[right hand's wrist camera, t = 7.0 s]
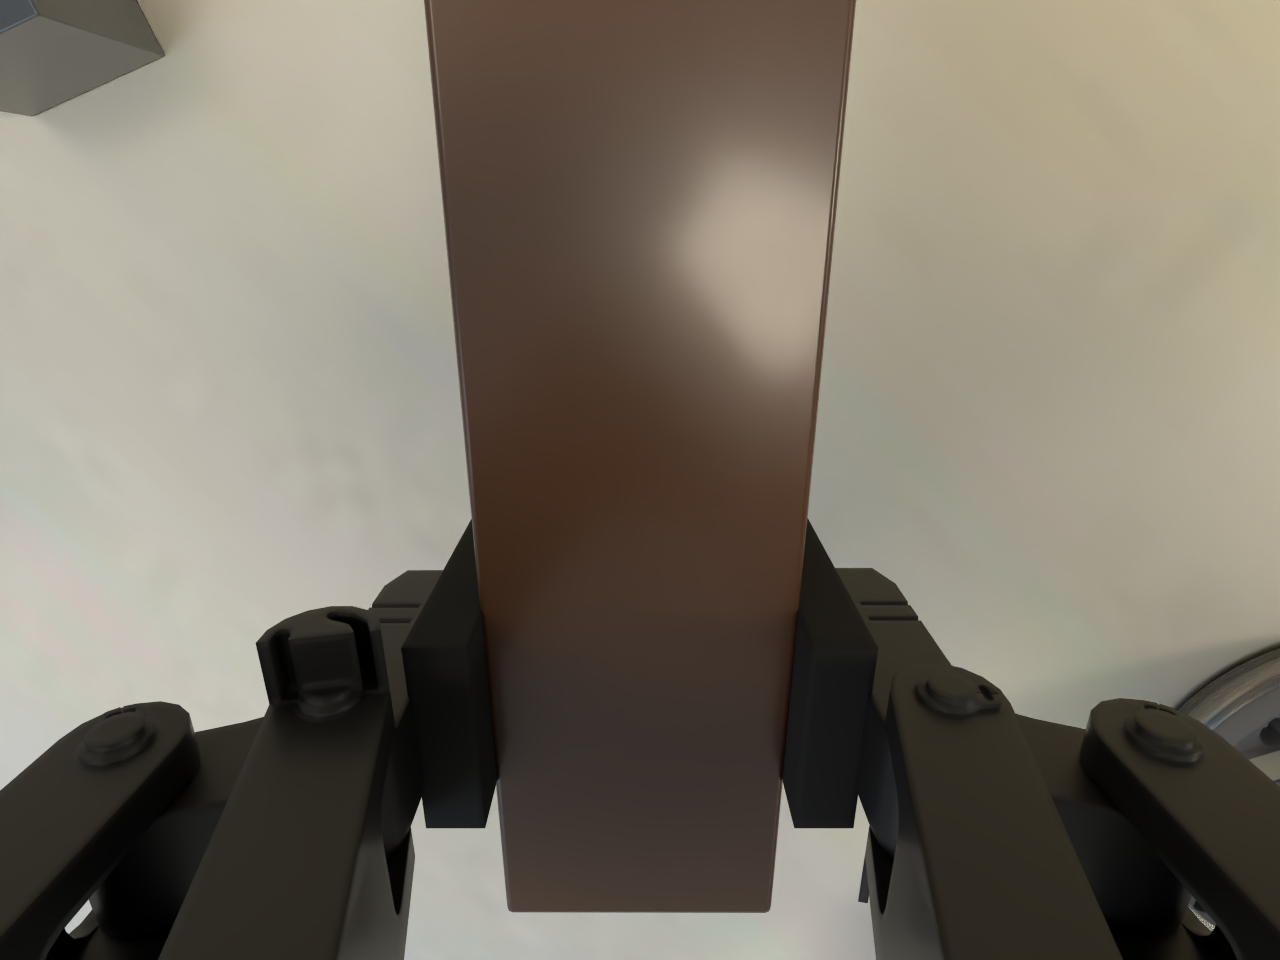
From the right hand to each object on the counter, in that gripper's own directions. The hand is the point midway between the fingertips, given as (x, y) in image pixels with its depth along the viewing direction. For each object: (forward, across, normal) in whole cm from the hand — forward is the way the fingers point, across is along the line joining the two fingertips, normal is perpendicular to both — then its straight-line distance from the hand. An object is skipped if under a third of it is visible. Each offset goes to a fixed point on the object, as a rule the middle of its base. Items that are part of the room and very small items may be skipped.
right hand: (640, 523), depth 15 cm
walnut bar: (0, 0, -12) cm, 12 cm away
